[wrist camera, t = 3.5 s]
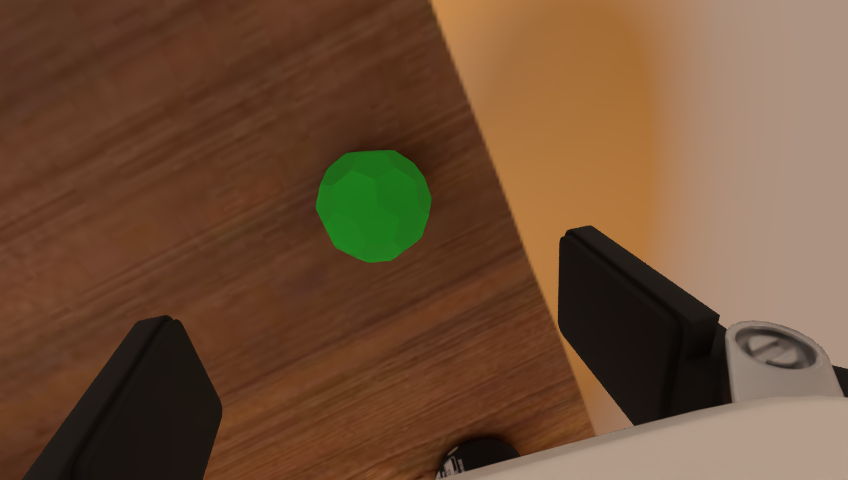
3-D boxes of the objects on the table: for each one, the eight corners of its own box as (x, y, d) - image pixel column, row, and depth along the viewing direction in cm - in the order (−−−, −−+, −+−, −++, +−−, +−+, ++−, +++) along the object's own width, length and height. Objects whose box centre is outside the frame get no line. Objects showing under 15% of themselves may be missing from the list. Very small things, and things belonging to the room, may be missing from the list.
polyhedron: (432, 214, 21) (455, 255, 17) (345, 248, 21) (346, 298, 17) (399, 122, 19) (416, 143, 15) (301, 160, 19) (290, 192, 15)
